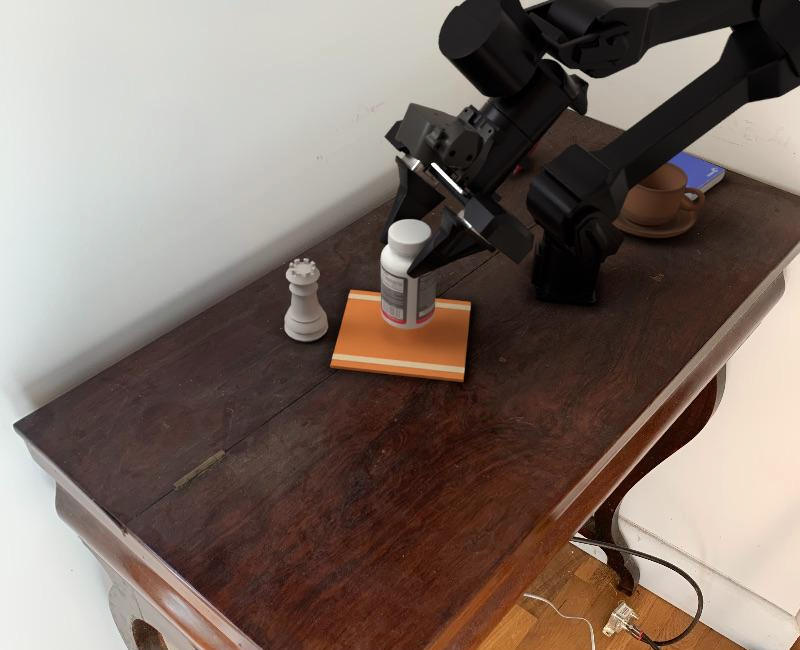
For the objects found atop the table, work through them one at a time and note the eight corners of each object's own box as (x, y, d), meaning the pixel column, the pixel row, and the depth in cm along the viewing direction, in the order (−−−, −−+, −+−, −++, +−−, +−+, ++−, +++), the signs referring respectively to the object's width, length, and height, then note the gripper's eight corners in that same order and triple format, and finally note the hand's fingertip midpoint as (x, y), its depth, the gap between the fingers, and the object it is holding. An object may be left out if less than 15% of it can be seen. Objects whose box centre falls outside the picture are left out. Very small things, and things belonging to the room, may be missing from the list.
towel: (470, 304, 86) (471, 301, 86) (463, 382, 78) (463, 378, 77) (350, 292, 87) (350, 288, 86) (330, 368, 78) (330, 364, 78)
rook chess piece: (336, 323, 83) (334, 260, 77) (315, 349, 80) (311, 285, 74) (298, 311, 84) (293, 247, 78) (276, 336, 81) (269, 272, 76)
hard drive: (726, 168, 105) (644, 134, 111) (694, 191, 100) (611, 154, 106) (722, 179, 106) (641, 145, 112) (691, 202, 102) (608, 165, 107)
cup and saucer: (678, 193, 103) (692, 149, 98) (705, 248, 95) (721, 202, 90) (585, 192, 102) (595, 147, 98) (604, 247, 94) (616, 201, 90)
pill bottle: (427, 293, 82) (431, 211, 75) (440, 327, 79) (446, 244, 72) (375, 300, 82) (375, 217, 74) (386, 334, 78) (387, 251, 71)
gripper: (405, 28, 70) (296, 170, 74) (521, 122, 59) (385, 283, 63) (475, 98, 78) (373, 222, 83) (589, 192, 67) (464, 330, 71)
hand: (395, 259), depth 75 cm, fingers closed on pill bottle, 5 cm apart
